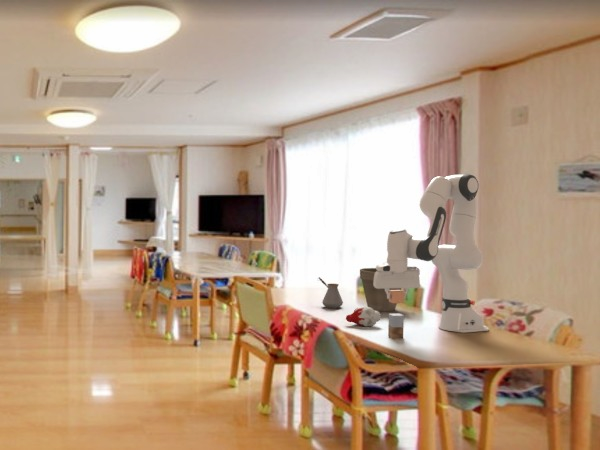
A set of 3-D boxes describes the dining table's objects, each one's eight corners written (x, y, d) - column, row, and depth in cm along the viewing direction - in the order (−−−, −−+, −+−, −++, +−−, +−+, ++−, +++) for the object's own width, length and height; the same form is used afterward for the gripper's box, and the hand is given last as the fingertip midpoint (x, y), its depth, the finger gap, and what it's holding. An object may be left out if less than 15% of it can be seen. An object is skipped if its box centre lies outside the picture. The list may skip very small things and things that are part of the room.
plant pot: (403, 306, 350) (404, 268, 349) (406, 314, 326) (407, 273, 325) (359, 304, 353) (359, 266, 352) (359, 312, 328) (359, 271, 327)
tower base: (399, 336, 272) (399, 324, 272) (403, 338, 267) (403, 327, 267) (388, 336, 271) (388, 325, 271) (392, 338, 266) (392, 327, 266)
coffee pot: (346, 308, 341) (347, 281, 340) (329, 309, 335) (329, 282, 335) (326, 302, 360) (327, 276, 359) (309, 303, 354) (310, 277, 353)
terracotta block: (399, 301, 271) (400, 289, 271) (403, 303, 267) (404, 291, 266) (388, 301, 270) (389, 290, 270) (392, 303, 266) (393, 291, 265)
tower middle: (399, 324, 272) (399, 313, 272) (403, 327, 267) (403, 315, 267) (388, 325, 271) (388, 313, 271) (392, 327, 266) (392, 315, 266)
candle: (382, 325, 291) (352, 331, 287) (372, 321, 302) (343, 326, 298) (380, 307, 290) (350, 312, 286) (371, 303, 301) (342, 307, 297)
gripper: (416, 265, 273) (416, 297, 274) (372, 266, 269) (371, 297, 270) (422, 267, 267) (421, 299, 267) (377, 267, 263) (376, 300, 263)
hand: (396, 298), depth 269 cm, fingers closed on terracotta block, 5 cm apart
